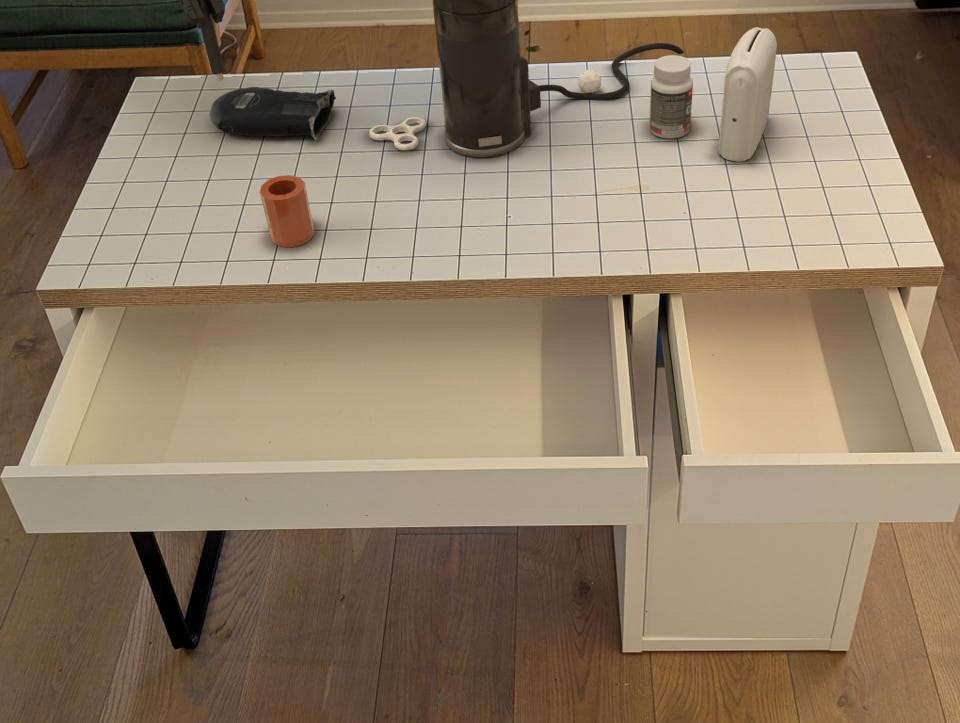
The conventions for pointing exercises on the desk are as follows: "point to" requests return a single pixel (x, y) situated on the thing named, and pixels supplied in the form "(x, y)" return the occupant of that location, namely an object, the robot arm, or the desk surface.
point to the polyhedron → (589, 81)
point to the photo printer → (747, 94)
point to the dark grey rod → (211, 42)
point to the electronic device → (272, 112)
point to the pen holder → (287, 210)
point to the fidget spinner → (400, 137)
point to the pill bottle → (671, 97)
